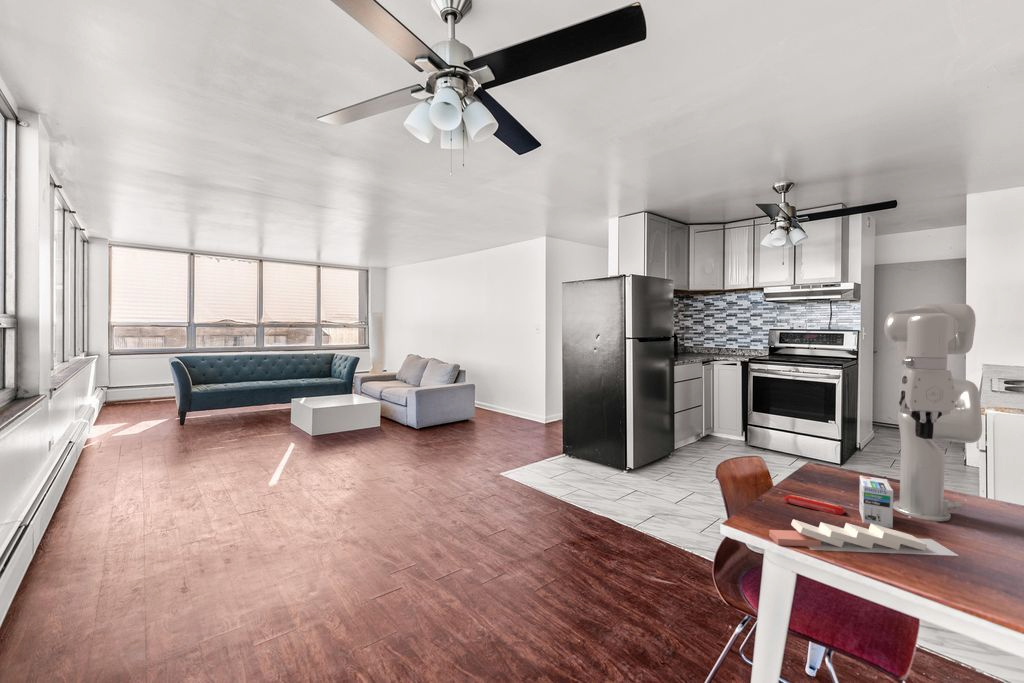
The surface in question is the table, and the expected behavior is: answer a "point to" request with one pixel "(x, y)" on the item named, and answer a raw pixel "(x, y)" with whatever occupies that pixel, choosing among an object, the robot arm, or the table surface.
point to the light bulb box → (876, 501)
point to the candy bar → (814, 504)
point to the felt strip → (931, 548)
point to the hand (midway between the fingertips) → (924, 437)
